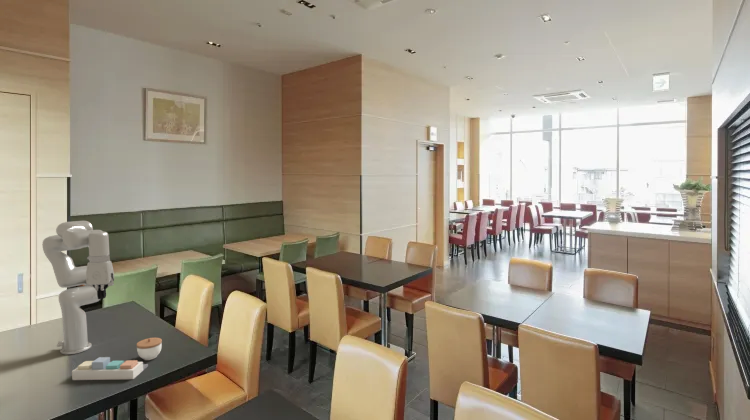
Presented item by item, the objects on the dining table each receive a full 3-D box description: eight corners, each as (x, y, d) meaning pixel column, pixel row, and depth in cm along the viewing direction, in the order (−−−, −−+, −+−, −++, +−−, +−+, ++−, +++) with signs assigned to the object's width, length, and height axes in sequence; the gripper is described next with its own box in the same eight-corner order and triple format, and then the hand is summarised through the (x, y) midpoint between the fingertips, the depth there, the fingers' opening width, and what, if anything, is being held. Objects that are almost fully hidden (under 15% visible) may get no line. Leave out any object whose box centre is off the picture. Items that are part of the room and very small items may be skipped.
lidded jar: (144, 364, 183) (143, 345, 182) (132, 358, 189) (131, 340, 188) (167, 355, 192) (166, 337, 192) (154, 350, 198) (154, 332, 197)
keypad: (72, 380, 169) (71, 371, 169) (91, 366, 181) (90, 358, 180) (133, 379, 170) (132, 370, 170) (148, 366, 182) (147, 357, 181)
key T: (106, 376, 171) (105, 365, 171) (113, 371, 176) (112, 360, 175) (117, 376, 171) (117, 365, 171) (124, 371, 176) (123, 360, 175)
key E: (78, 377, 170) (77, 366, 170) (86, 371, 175) (85, 361, 175) (89, 377, 171) (89, 366, 170) (97, 371, 175) (96, 360, 175)
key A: (120, 376, 171) (120, 365, 171) (127, 371, 176) (126, 360, 176) (131, 376, 171) (131, 365, 171) (138, 370, 176) (137, 360, 176)
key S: (92, 373, 171) (91, 362, 170) (99, 368, 175) (99, 357, 175) (103, 373, 171) (102, 362, 170) (110, 367, 176) (109, 357, 175)
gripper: (76, 260, 174) (79, 301, 175) (111, 260, 174) (113, 300, 176) (88, 257, 181) (90, 296, 183) (121, 257, 182) (123, 295, 183)
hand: (101, 298), depth 179 cm, fingers closed
